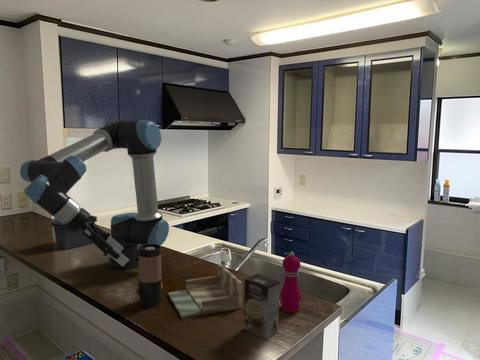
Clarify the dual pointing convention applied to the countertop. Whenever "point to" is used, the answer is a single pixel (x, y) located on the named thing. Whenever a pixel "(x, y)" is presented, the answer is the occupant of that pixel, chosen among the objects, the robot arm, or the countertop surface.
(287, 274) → the pepper mill
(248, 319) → the coffee box
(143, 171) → the robot arm
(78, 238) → the storage bin
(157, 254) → the travel mug
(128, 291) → the countertop surface
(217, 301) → the stepped plastic tray
